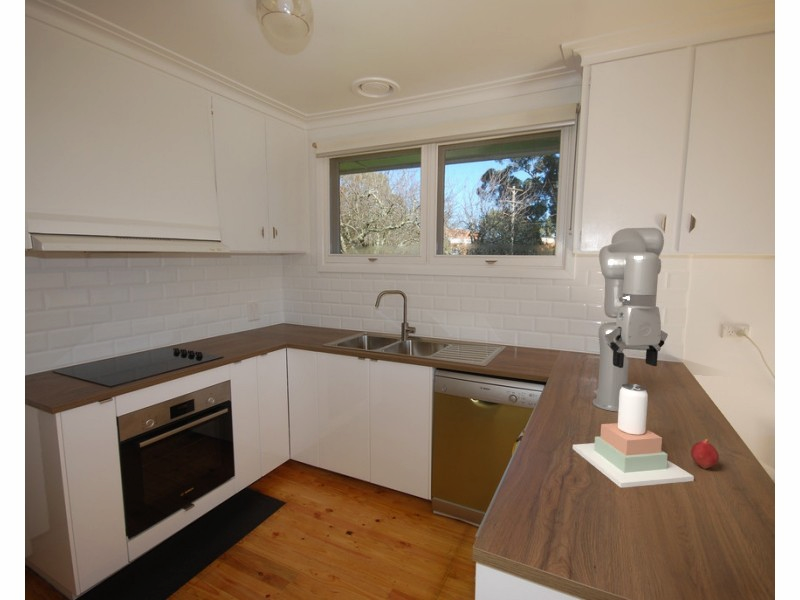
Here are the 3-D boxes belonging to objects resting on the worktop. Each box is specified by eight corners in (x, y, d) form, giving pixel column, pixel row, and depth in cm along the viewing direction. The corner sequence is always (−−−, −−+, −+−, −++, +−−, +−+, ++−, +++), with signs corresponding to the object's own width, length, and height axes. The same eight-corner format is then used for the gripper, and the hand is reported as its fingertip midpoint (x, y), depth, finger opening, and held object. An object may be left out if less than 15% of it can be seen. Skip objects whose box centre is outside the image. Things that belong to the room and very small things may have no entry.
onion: (684, 464, 107) (687, 436, 106) (699, 460, 109) (701, 432, 108) (707, 475, 101) (710, 445, 100) (722, 471, 103) (725, 442, 102)
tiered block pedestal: (572, 448, 115) (574, 418, 114) (634, 444, 118) (636, 414, 117) (620, 487, 96) (623, 451, 95) (693, 480, 99) (696, 445, 98)
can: (620, 423, 111) (622, 381, 110) (647, 429, 107) (650, 386, 105) (614, 431, 106) (617, 387, 105) (643, 438, 102) (646, 392, 100)
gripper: (618, 303, 98) (614, 371, 100) (680, 302, 100) (675, 368, 102) (598, 300, 105) (595, 363, 107) (657, 298, 108) (652, 360, 109)
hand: (634, 365), depth 104 cm, fingers open, 9 cm apart
